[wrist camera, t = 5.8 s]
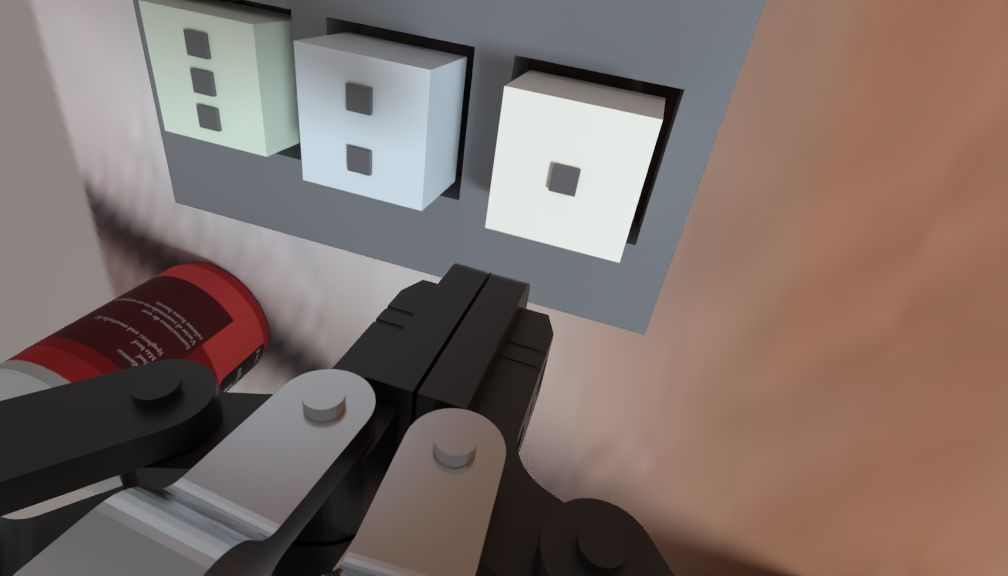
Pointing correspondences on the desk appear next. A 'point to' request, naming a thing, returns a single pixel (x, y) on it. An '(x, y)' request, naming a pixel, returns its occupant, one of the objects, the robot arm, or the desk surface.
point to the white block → (224, 72)
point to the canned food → (150, 336)
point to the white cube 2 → (379, 116)
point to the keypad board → (463, 205)
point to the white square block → (571, 162)
